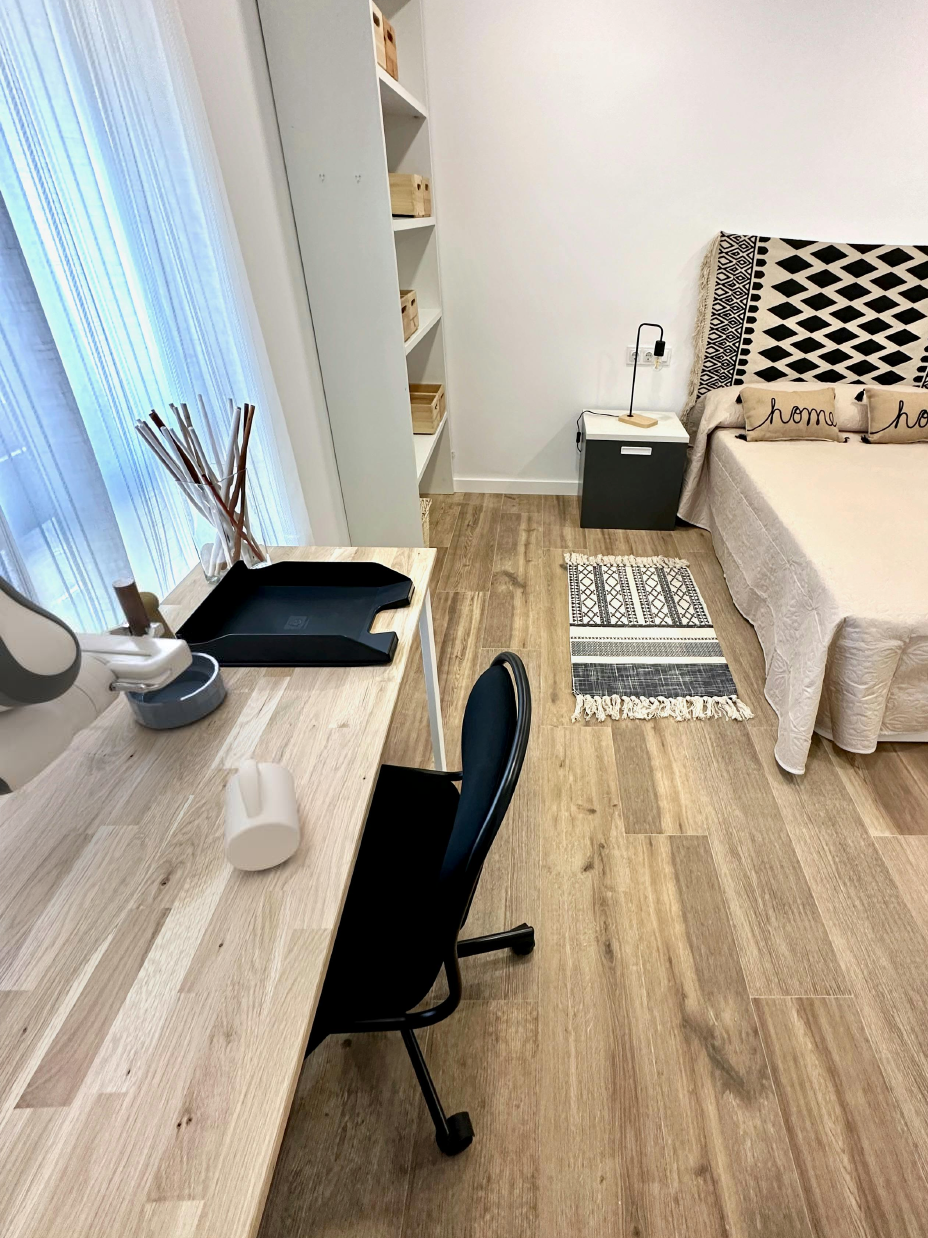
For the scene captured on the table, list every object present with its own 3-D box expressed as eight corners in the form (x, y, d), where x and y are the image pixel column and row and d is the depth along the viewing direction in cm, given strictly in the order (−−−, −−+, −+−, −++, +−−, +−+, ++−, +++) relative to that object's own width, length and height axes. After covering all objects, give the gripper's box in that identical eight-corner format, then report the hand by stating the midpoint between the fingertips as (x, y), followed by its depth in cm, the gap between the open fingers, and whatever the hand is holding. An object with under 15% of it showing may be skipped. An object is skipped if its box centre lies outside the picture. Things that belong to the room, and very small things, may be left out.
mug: (234, 880, 74) (207, 816, 68) (234, 815, 82) (209, 752, 76) (306, 856, 77) (286, 793, 71) (299, 795, 85) (280, 733, 79)
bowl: (121, 735, 94) (108, 709, 91) (156, 680, 105) (145, 655, 102) (212, 728, 96) (203, 702, 93) (237, 674, 107) (228, 649, 104)
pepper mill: (172, 632, 117) (154, 583, 111) (180, 647, 113) (161, 597, 107) (136, 644, 114) (115, 594, 108) (143, 660, 110) (121, 609, 104)
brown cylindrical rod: (150, 687, 94) (108, 587, 84) (157, 676, 96) (117, 578, 86) (168, 686, 94) (129, 586, 84) (175, 675, 96) (137, 577, 87)
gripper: (147, 673, 76) (208, 612, 88) (-9, 662, 77) (71, 603, 89) (163, 710, 80) (219, 647, 92) (13, 699, 81) (88, 638, 92)
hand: (145, 625), depth 90 cm, fingers closed on brown cylindrical rod, 2 cm apart
